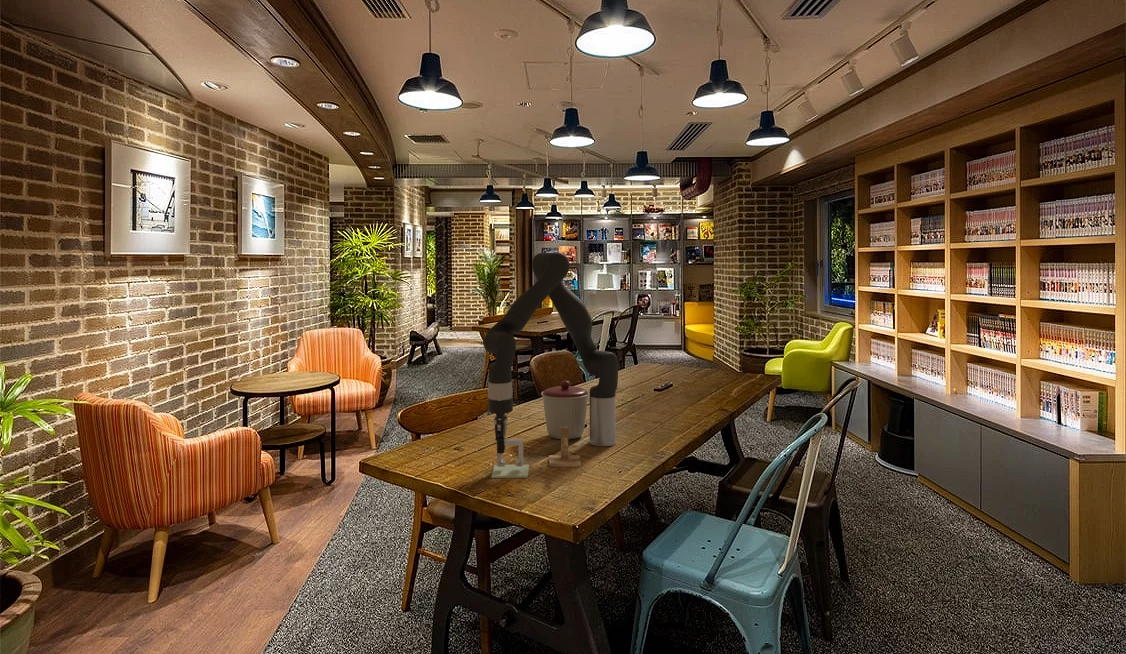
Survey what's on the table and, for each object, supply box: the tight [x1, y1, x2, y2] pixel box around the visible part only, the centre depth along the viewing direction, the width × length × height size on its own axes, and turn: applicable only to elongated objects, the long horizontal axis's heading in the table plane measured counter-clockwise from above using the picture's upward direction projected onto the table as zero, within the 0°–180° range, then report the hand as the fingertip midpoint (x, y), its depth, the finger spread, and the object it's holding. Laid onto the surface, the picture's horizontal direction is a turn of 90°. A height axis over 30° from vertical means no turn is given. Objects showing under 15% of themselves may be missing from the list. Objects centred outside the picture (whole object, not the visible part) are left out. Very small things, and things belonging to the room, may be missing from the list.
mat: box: [490, 463, 530, 479], centre depth 198 cm, size 11×11×1 cm
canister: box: [540, 380, 590, 440], centre depth 237 cm, size 18×18×21 cm
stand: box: [548, 427, 582, 468], centre depth 202 cm, size 19×10×11 cm, turn 1°
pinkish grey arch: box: [496, 437, 525, 467], centre depth 197 cm, size 3×8×8 cm, turn 91°
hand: (501, 451), depth 197 cm, fingers closed on pinkish grey arch, 3 cm apart
